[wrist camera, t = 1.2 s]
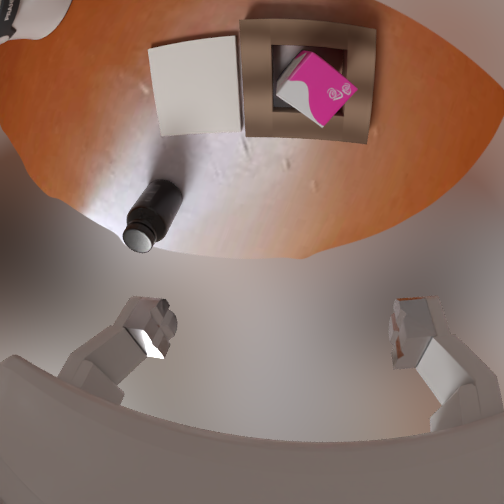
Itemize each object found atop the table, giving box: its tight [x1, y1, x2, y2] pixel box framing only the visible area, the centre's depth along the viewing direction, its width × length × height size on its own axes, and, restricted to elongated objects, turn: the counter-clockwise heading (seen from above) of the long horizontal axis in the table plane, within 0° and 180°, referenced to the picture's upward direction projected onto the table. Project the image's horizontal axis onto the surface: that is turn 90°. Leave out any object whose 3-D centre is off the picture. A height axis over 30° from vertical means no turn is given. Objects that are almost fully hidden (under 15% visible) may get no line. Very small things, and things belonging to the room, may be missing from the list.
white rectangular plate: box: [148, 36, 242, 137], centre depth 32 cm, size 14×12×1 cm
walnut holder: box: [239, 19, 376, 144], centre depth 28 cm, size 16×16×3 cm
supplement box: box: [276, 50, 358, 128], centre depth 25 cm, size 6×6×12 cm
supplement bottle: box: [123, 180, 182, 253], centre depth 41 cm, size 7×7×12 cm
